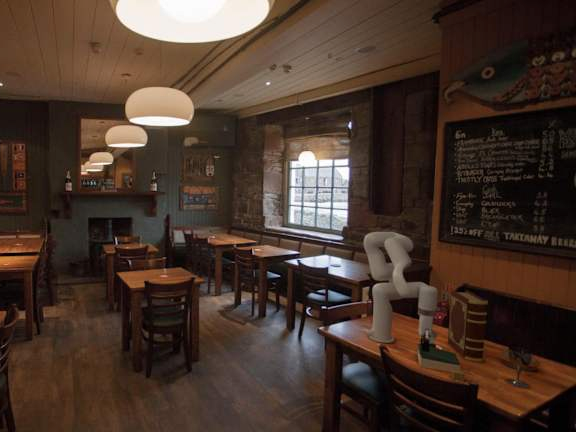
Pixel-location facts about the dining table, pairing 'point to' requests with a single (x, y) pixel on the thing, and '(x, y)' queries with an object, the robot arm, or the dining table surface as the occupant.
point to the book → (436, 363)
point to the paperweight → (458, 375)
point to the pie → (505, 358)
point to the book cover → (440, 354)
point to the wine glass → (519, 363)
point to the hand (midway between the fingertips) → (424, 348)
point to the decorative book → (467, 324)
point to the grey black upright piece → (433, 338)
